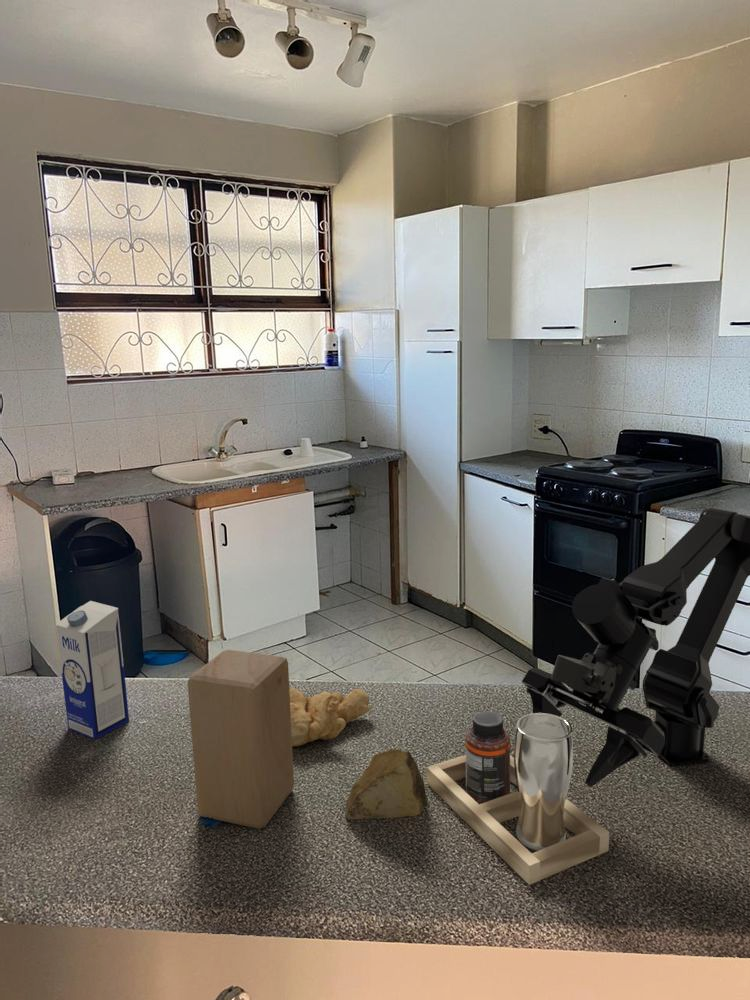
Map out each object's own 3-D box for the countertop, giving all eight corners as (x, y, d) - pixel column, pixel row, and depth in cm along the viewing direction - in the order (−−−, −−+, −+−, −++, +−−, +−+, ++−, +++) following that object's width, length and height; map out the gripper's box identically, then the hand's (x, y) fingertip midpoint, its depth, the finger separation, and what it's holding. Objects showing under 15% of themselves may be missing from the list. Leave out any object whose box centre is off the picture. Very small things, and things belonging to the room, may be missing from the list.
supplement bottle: (494, 776, 105) (495, 703, 103) (518, 799, 100) (520, 723, 98) (457, 787, 103) (457, 712, 101) (480, 811, 98) (480, 733, 95)
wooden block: (297, 788, 103) (290, 654, 99) (263, 833, 94) (255, 687, 90) (233, 776, 107) (224, 646, 102) (195, 818, 98) (183, 677, 93)
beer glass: (581, 840, 92) (586, 729, 88) (540, 862, 88) (543, 747, 85) (541, 811, 97) (544, 706, 94) (500, 830, 94) (502, 722, 91)
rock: (328, 816, 94) (402, 822, 90) (336, 745, 97) (408, 748, 94) (361, 822, 103) (430, 828, 99) (367, 757, 106) (434, 760, 103)
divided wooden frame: (426, 783, 104) (426, 767, 104) (496, 760, 109) (497, 744, 109) (529, 885, 84) (529, 865, 84) (608, 850, 90) (609, 832, 89)
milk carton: (130, 721, 123) (118, 606, 118) (95, 740, 117) (82, 620, 113) (102, 710, 126) (90, 599, 122) (67, 728, 121) (53, 612, 117)
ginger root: (240, 742, 113) (245, 689, 113) (288, 717, 128) (292, 670, 128) (334, 764, 108) (339, 709, 108) (372, 735, 123) (377, 687, 123)
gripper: (531, 610, 99) (471, 712, 95) (656, 655, 85) (591, 778, 81) (568, 649, 106) (513, 746, 102) (691, 697, 91) (632, 813, 87)
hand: (557, 768), depth 93 cm, fingers open, 9 cm apart
